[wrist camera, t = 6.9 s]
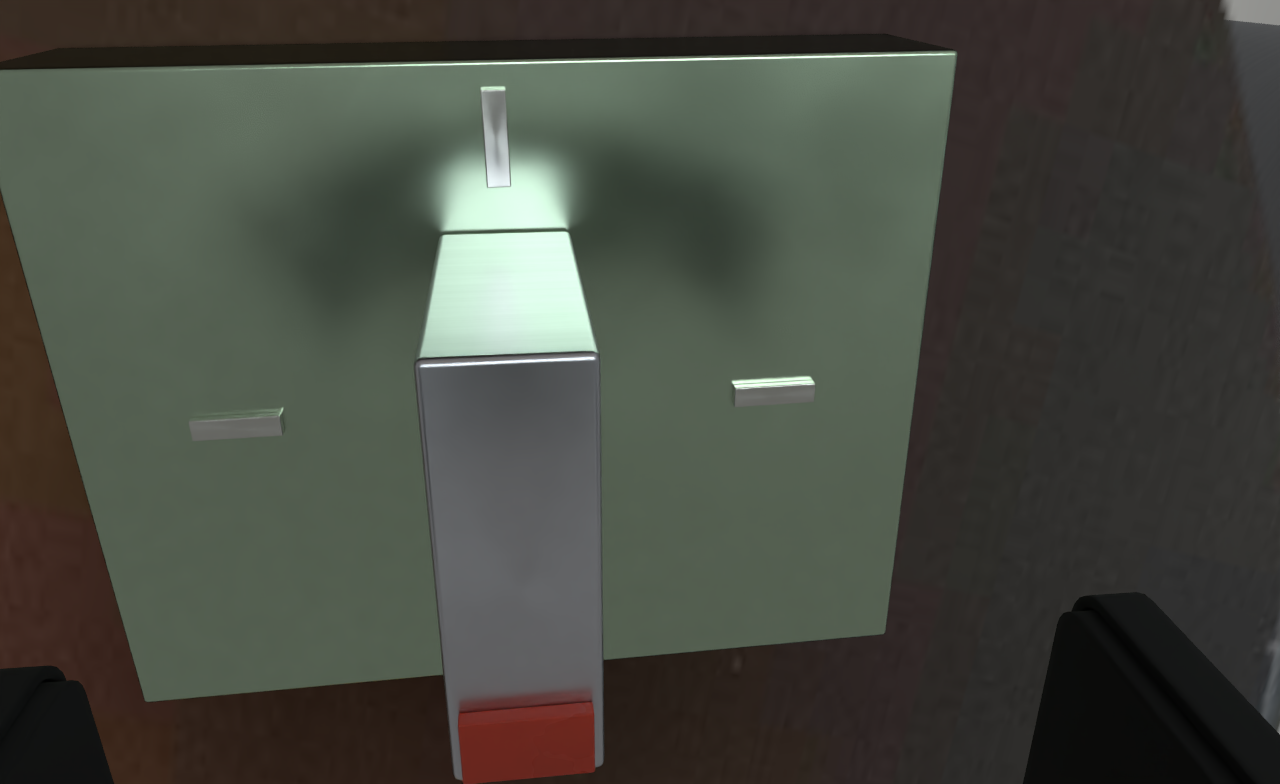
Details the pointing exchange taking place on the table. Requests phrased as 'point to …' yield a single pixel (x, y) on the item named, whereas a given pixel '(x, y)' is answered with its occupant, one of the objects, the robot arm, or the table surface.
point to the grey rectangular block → (514, 503)
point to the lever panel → (394, 307)
